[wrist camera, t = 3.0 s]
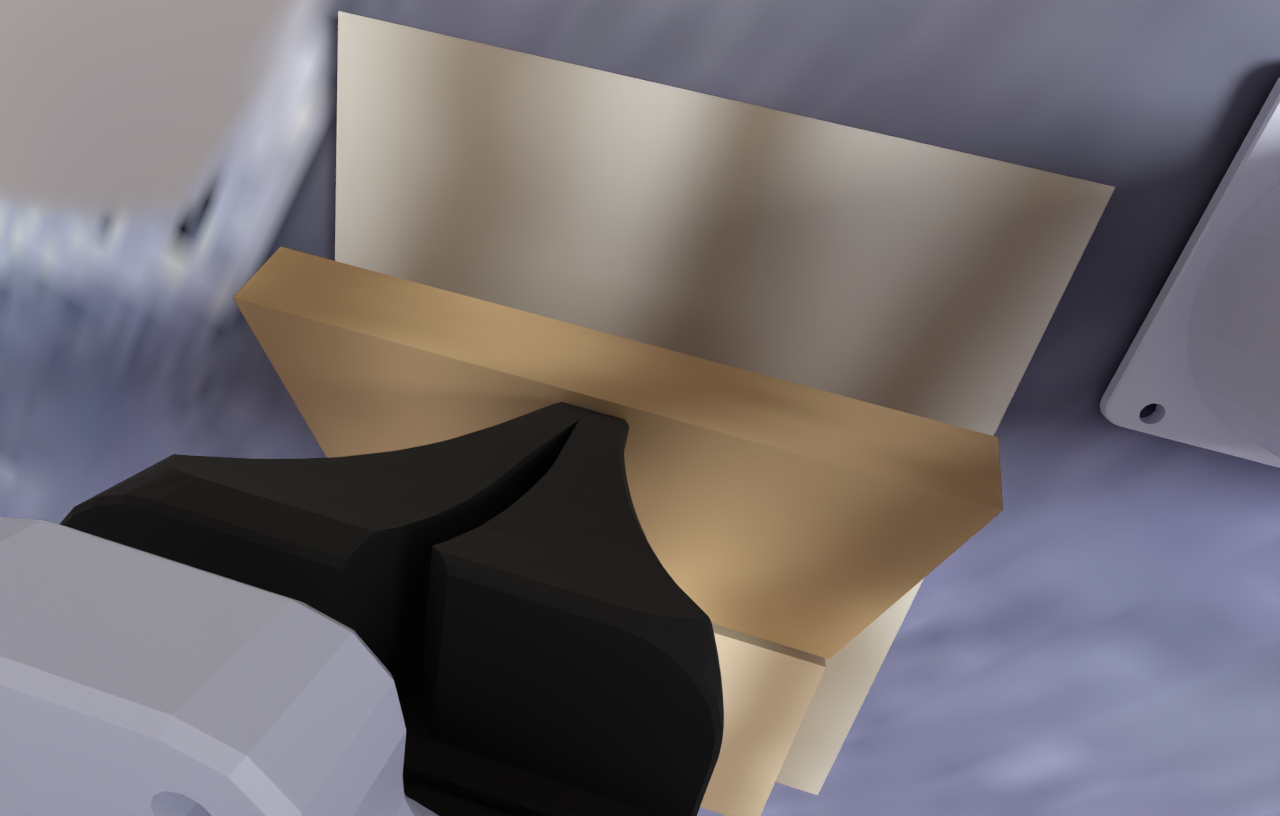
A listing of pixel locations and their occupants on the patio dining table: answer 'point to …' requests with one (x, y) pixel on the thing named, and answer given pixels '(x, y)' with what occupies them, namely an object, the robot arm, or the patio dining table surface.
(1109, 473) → the patio dining table surface
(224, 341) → the patio dining table surface
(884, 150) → the floor section
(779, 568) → the plank
